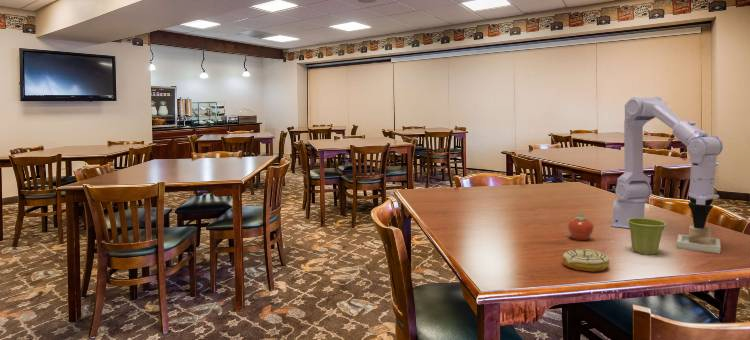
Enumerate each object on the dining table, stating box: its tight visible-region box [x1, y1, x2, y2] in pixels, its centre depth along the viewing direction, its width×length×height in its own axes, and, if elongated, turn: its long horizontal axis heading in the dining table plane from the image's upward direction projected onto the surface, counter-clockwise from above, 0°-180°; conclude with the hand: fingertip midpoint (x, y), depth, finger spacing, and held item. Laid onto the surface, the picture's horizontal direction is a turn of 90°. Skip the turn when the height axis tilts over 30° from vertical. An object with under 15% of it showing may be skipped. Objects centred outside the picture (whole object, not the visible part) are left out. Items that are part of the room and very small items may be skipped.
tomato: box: [567, 213, 595, 241], centre depth 141 cm, size 7×7×8 cm
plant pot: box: [627, 217, 667, 256], centre depth 127 cm, size 9×9×9 cm
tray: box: [676, 233, 722, 254], centre depth 131 cm, size 10×10×2 cm
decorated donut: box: [562, 248, 610, 273], centre depth 116 cm, size 10×11×4 cm
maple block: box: [688, 224, 712, 245], centre depth 131 cm, size 5×5×5 cm
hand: (699, 225), depth 131 cm, fingers open, 7 cm apart
